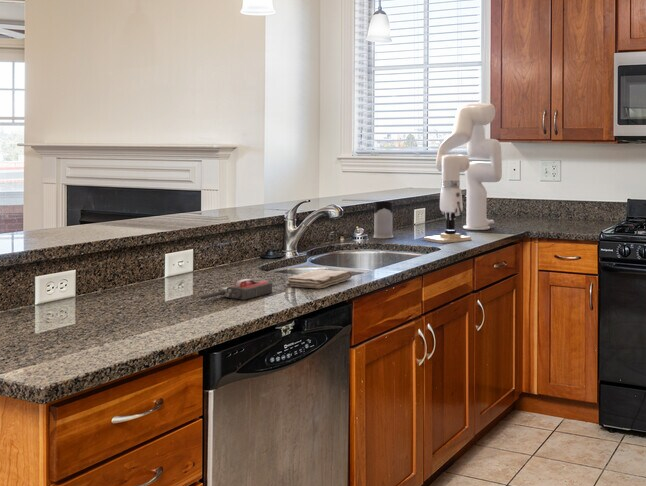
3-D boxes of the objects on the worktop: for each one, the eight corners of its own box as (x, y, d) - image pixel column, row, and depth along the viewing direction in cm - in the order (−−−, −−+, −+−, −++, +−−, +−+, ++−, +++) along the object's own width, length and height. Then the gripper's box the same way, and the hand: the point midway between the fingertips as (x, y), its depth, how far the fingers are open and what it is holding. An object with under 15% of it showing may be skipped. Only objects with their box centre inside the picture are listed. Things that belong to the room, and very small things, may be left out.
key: (451, 233, 312) (451, 229, 312) (455, 234, 309) (455, 230, 309) (445, 234, 310) (445, 230, 310) (450, 235, 307) (450, 230, 307)
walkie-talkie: (252, 288, 209) (197, 302, 191) (252, 273, 209) (197, 285, 191) (277, 292, 205) (223, 306, 187) (277, 275, 204) (223, 288, 187)
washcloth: (284, 286, 212) (284, 276, 212) (319, 276, 228) (319, 266, 228) (319, 290, 207) (319, 279, 207) (352, 279, 223) (352, 269, 223)
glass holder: (373, 238, 315) (373, 203, 315) (371, 234, 329) (371, 200, 329) (394, 238, 317) (394, 203, 317) (391, 234, 331) (391, 200, 331)
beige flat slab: (452, 237, 321) (452, 230, 321) (471, 240, 312) (471, 232, 312) (423, 240, 311) (423, 233, 311) (441, 243, 302) (441, 236, 302)
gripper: (469, 185, 306) (469, 230, 306) (446, 183, 318) (445, 226, 318) (455, 186, 301) (455, 231, 301) (432, 184, 313) (432, 228, 313)
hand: (450, 228), depth 309 cm, fingers closed
